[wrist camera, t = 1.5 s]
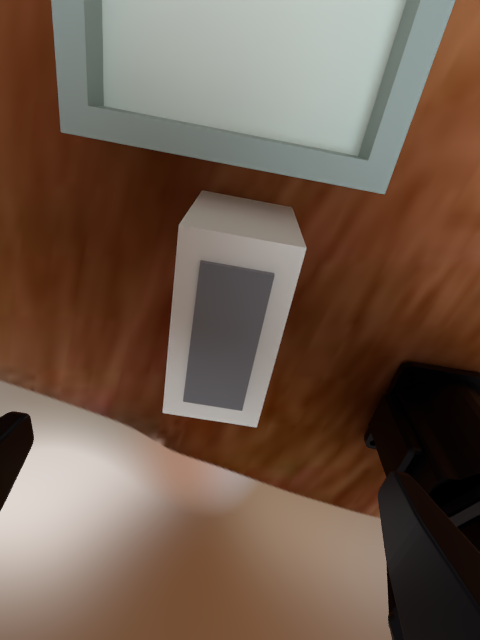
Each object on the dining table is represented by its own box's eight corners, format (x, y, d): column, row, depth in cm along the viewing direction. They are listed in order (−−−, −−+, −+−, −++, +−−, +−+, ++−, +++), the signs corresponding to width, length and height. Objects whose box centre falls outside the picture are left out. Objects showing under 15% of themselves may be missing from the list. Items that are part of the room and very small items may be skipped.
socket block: (292, 206, 16) (307, 250, 11) (256, 351, 20) (256, 431, 15) (202, 189, 16) (177, 226, 11) (185, 340, 20) (161, 416, 15)
